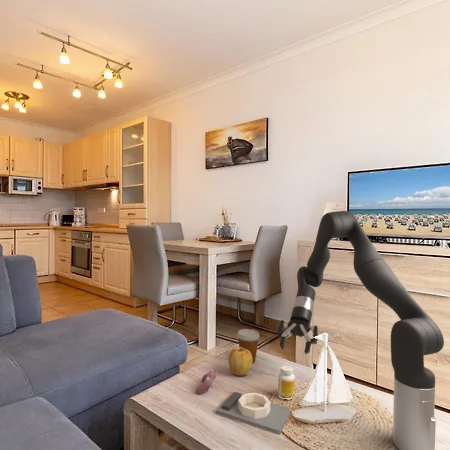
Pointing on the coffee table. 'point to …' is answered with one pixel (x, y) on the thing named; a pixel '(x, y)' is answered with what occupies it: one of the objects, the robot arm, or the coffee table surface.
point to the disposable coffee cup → (249, 341)
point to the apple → (240, 361)
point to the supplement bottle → (286, 382)
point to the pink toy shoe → (206, 382)
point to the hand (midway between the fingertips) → (293, 350)
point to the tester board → (261, 422)
